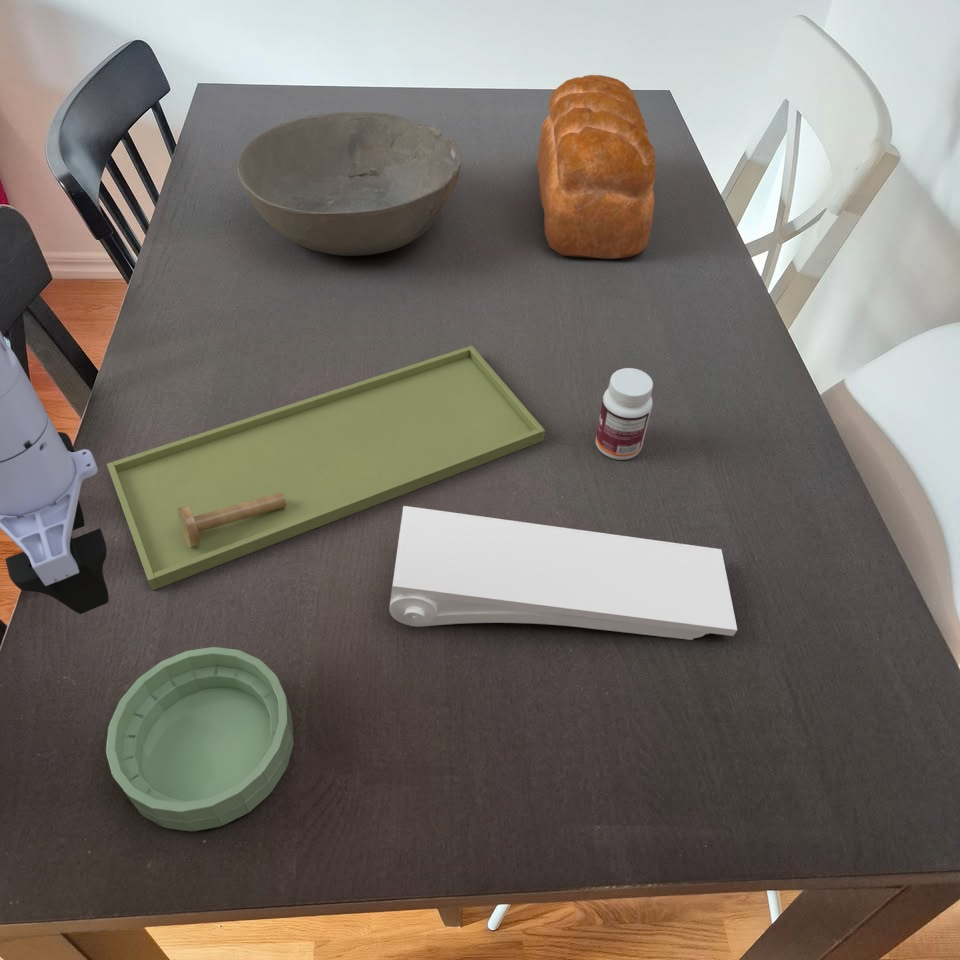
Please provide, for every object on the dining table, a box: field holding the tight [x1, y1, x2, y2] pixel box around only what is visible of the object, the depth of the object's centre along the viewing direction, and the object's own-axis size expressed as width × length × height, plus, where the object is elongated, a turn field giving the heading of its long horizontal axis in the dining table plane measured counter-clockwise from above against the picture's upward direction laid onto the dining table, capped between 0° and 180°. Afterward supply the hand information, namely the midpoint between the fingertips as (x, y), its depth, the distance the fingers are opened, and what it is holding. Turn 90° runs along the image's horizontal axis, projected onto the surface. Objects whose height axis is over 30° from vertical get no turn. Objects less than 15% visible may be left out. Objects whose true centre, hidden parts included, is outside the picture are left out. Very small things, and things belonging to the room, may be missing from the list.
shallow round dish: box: [105, 646, 295, 832], centre depth 60 cm, size 12×12×4 cm
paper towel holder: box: [178, 493, 286, 548], centre depth 74 cm, size 4×4×9 cm
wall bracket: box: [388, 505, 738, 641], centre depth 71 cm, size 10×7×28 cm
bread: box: [536, 74, 656, 260], centre depth 110 cm, size 14×26×16 cm, turn 0°
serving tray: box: [106, 345, 546, 591], centre depth 81 cm, size 39×15×2 cm, turn 119°
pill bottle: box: [595, 367, 654, 461], centre depth 81 cm, size 5×5×8 cm
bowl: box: [236, 111, 462, 257], centre depth 107 cm, size 28×28×10 cm
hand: (80, 565), depth 59 cm, fingers open, 7 cm apart
